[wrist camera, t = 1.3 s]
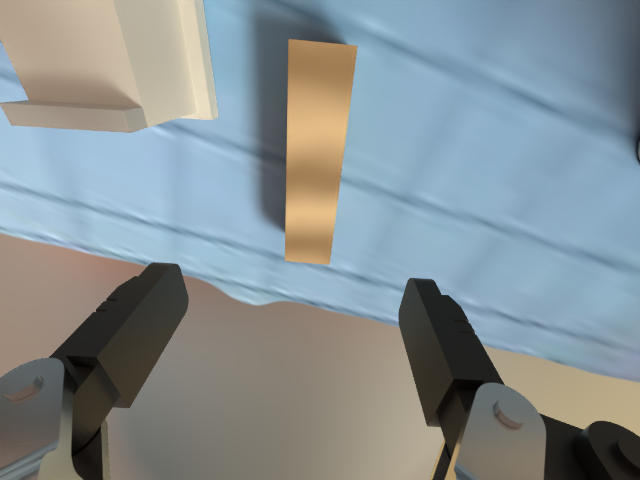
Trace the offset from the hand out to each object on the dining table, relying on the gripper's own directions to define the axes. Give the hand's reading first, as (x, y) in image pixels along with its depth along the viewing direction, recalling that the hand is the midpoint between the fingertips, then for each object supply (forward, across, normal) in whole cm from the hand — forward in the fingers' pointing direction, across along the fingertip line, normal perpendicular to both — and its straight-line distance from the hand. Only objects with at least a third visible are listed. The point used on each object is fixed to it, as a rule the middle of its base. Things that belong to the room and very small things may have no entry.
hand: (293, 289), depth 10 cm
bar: (+17, 0, 0) cm, 17 cm away
